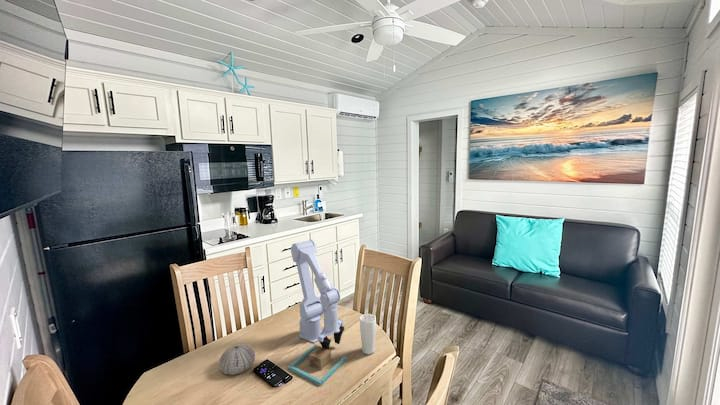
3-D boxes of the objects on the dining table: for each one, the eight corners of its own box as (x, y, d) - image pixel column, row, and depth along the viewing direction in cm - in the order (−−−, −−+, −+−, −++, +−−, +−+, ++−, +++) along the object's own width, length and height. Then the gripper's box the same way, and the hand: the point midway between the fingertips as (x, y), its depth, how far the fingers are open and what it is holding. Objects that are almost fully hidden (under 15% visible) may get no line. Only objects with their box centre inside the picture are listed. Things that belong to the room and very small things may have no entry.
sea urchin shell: (262, 358, 120) (261, 340, 119) (239, 381, 108) (237, 362, 106) (236, 351, 125) (235, 334, 123) (211, 374, 112) (209, 354, 111)
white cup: (375, 357, 119) (374, 323, 117) (359, 355, 120) (358, 321, 118) (377, 346, 126) (377, 314, 123) (362, 344, 127) (361, 312, 125)
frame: (288, 369, 113) (288, 366, 113) (315, 346, 127) (315, 344, 126) (320, 386, 105) (320, 383, 104) (346, 360, 118) (346, 357, 118)
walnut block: (309, 364, 116) (308, 354, 115) (319, 355, 121) (318, 345, 120) (321, 370, 112) (320, 359, 112) (330, 360, 117) (330, 350, 117)
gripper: (327, 329, 113) (328, 361, 115) (348, 312, 125) (349, 341, 127) (313, 324, 116) (315, 355, 119) (335, 308, 129) (336, 336, 131)
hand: (332, 347), depth 123 cm, fingers open, 7 cm apart
